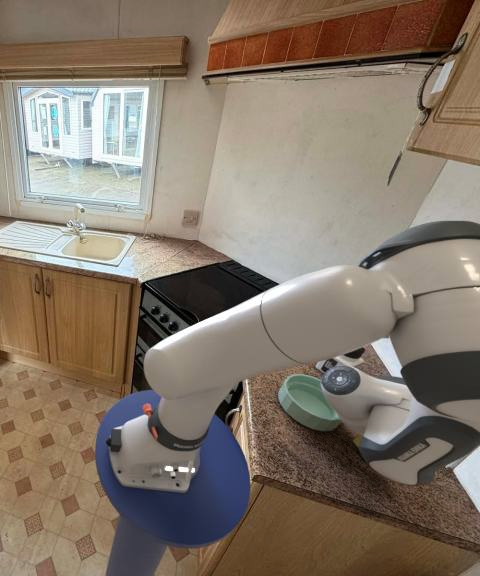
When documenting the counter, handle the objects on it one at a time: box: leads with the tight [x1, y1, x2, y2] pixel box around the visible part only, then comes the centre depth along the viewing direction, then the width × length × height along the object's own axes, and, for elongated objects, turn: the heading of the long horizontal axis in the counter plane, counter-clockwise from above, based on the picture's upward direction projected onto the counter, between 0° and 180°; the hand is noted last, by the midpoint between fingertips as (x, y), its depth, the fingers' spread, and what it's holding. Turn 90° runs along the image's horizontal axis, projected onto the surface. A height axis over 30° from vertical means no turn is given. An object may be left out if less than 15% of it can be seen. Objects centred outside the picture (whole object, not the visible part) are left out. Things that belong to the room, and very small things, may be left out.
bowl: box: [277, 373, 343, 432], centre depth 86 cm, size 15×15×6 cm
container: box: [315, 346, 366, 374], centre depth 97 cm, size 8×8×13 cm
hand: (378, 438), depth 76 cm, fingers closed on butter, 4 cm apart
